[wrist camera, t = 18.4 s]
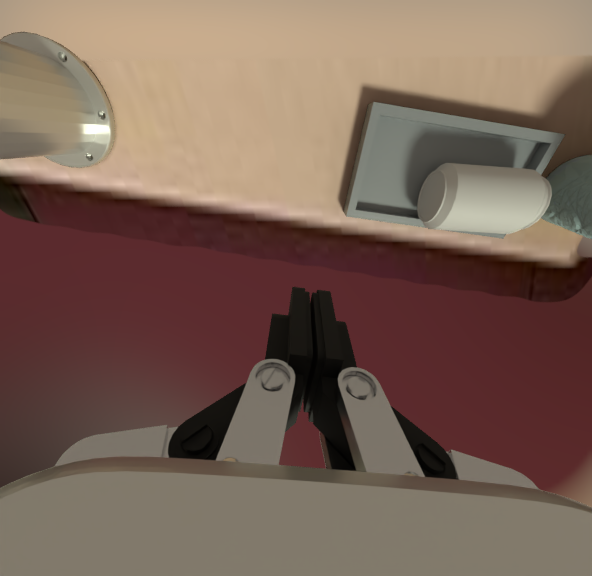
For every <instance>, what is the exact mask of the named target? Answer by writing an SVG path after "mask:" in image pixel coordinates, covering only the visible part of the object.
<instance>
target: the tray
mask: <svg viewBox="0 0 592 576" xmlns="http://www.w3.org/2000/svg"><path fill="white" fill-rule="evenodd" d="M564 136H565V134H559V133H554V132H548V131H542V130H536V129H530V128H524V127H518V126H512V125H507V124H501V123H495V122H489V121H483V120H477V119H471V118H465V117H460V116H454V115H448V114H442V113H436V112H430V111H424V110H419V109H413V108H407V107H401V106H395V105H389V104H383V103H377V102H372V103H370V104H368V108H367V112H366V116H365V121H364V125H363V129H362V134H361V138H360V142H359V147H358V151H357V155H356V159H355V164H354V168H353V172H352V177H351V181H350V185H349V190H348V194H347V198H346V203H345V207H344V211H343V212H344V213H345V215H346V216H347V217H354V218H361V219H368V220H376V221H383V222H390V223H397V224H404V225H411V226H418V227H425V226H424V224H423V222H422V221H421V220H420V218H419V216H418V211H417V203H418V197H419V194H420V190H421V188H422V185H423V183H424V181H425V180H426V178H427V177H428V175H429V174H430V173H432V172H433V171H435V170H436V169H437V168H438V167H439V166H440V165H442V164H445V163H456V164H470V165H483V166H497V167H510V168H524V169H532V170H535V171H537V172H538V173H539V174H541V175H542V173H543V171H544V170H545V168H546V166H547V165H548V163H549V161H550V160H551V158H552V156H553V155H554V153H555V151H556V149H557V148H558V146H559V144H560V143H561V141H562V139H563V138H564ZM425 228H427V227H425ZM446 231H453V230H446ZM453 232H461V233H468V234H475V235H482V236H489V237H496V238H504V237H505V235H506V234H497V233H482V232H467V231H453Z"/></svg>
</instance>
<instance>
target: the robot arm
mask: <svg viewBox="0 0 592 576" xmlns="http://www.w3.org/2000/svg"><path fill="white" fill-rule="evenodd" d="M105 115H106V116H105ZM114 139H115V122H114V116H113V112H112V109H111V106H110V103H109V100H108V98H107V96H106V94H105V92H104V90H103V88H102V86H101V85H100V83H99V82H98V80H97V78H96V77H95V75H94V74H93V73H92V72H91V71H90V69H89V68H88V67H87V66H86V65H85V63H83V62H82V61H81V60H80V59H79V58H78V57H77V56H76V55H75V54H73V53H72V52H71V51H70V50H68V49H67V48H65V47H64V46H62V45H61V44H59V43H57V42H55V41H53V40H51V39H49V38H46V37H43V36H40V35H38V34H34V33H27V32H18V33H12V34H9V35H7V36H4V37H3V38H2V39H1V40H0V159H11V158H25V157H39V156H44V157H46V158H47V159H49V160H51V161H53V162H56V163H58V164H60V165H64V166H68V167H77V168H82V167H90V166H93V165H96V164H98V163H100V162H101V161H103V160H104V159H105V158H106V157H107V156H108V155H109V153H110V151H111V149H112V147H113V143H114ZM302 401H303V403H304V412H309V422H313V424H314V425H315V426H316V427H317V428H318V429H319V431H320V441H321V445H322V451H323V455H324V460H325V465H326V469H322V468H309V467H296V466H283V465H278V464H279V459H280V454H281V449H282V444H283V439H284V434H285V432H286V431H287V430H288V429H289V428H290V427H291V426H293V425H294V424H295V423H296V420H297V415H298V411H299V412H300V409H301V405H302ZM0 576H592V507H589V506H587V505H585V504H583V503H580V502H577V501H574V500H572V499H569V498H566V497H563V496H560V495H557V494H553V493H550V492H546V491H541V490H539V489H538V487H537V486H536V485H535V484H534V483H533V482H532V481H531V480H529V479H528V478H527V477H525V476H524V475H522V474H521V473H519V472H517V471H515V470H513V469H510V468H506V467H504V466H500V465H497V464H494V463H491V462H488V461H485V460H482V459H479V458H475V457H473V456H469V455H466V454H463V453H460V452H457V451H454V450H450V451H449V452H446V451H445V450H444V449H443V448H442V447H441V446H440V445H439V444H438V443H437V442H436V441H434V440H433V439H432V438H431V437H429V436H428V435H427V434H426V433H424V432H423V431H422V430H420V429H419V428H418V427H416V426H415V425H414V424H413V423H412V422H410V421H409V420H408V419H407V418H405V417H404V416H403V415H402V414H400V413H399V412H398V411H396V410H395V409H394V408H393V407H391V406H390V404H389V402H388V400H387V398H386V396H385V394H384V392H383V390H382V388H381V386H380V384H379V382H378V381H377V379H376V378H375V377H374V376H373V375H372V374H371V373H369V372H367V371H366V370H363V369H360V368H357V366H356V362H355V358H354V354H353V350H352V346H351V342H350V338H349V334H348V330H347V326H346V323H345V322H339V321H336V318H335V313H334V308H333V303H332V298H331V293H330V291H322V290H317V293H312V297H311V302H310V297H309V292H305V288H297V287H293V288H292V294H291V301H290V307H289V314H288V315H280V314H272V319H271V325H270V332H269V338H268V344H267V351H266V357H265V360H263V361H261V362H259V363H258V364H256V365H255V366H254V368H253V370H252V371H251V373H250V376H249V378H248V381H247V383H245V384H243V385H242V386H240V387H239V388H237V389H235V390H234V391H232V392H231V393H229V394H228V395H226V396H224V397H223V398H221V399H220V400H218V401H216V402H215V403H213V404H212V405H210V406H209V407H207V408H205V409H204V410H202V411H201V412H199V413H197V414H196V415H194V416H193V417H191V418H190V419H188V420H186V421H185V422H184V423H183V424H181V425H180V426H179V427H174V428H168V426H167V425H164V426H156V427H149V428H143V429H135V430H128V431H121V432H114V433H106V434H99V435H94V436H90V437H87V438H84V439H82V440H81V441H79V442H77V443H75V444H74V445H73V446H71V447H70V448H69V449H68V450H67V451H66V452H64V453H63V455H62V456H61V458H60V459H59V460H58V462H57V463H56V465H55V467H52V468H49V469H47V470H43V471H40V472H37V473H34V474H32V475H29V476H27V477H24V478H22V479H19V480H17V481H15V482H12V483H10V484H8V485H6V486H4V487H2V488H0Z"/></svg>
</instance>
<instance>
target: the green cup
mask: <svg viewBox="0 0 592 576" xmlns="http://www.w3.org/2000/svg"><path fill="white" fill-rule="evenodd" d="M545 179H547V180H548V181H549V183H550V185H551V191H552V196H551V200H550V203H549V206H548V208H547V210H546V211H545V213H544V215H543V216H542V217H541V218H542V219H543V220H545V221H548V222H550V223H553V224H555V225H558V226H561V227H563V228H565V229H568V230H570V231H572V232H575V233H577V234H579V235H583V236H585V237H587V238H591V239H592V155H585V156H580V157H576V158H573V159H571V160H569V161H567V162H565V163H563V164H562V165H560V166H558V167H557V168H556V169H555V170H554V171H553V172H552V173H551V174H549V176H548V177H547V178H545Z"/></svg>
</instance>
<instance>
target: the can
mask: <svg viewBox="0 0 592 576" xmlns="http://www.w3.org/2000/svg"><path fill="white" fill-rule="evenodd" d="M551 196H552V191H551V185H550V183H549V181H548V180H547V179H545V178H544V177H543V176H541V174H539V173H538V172H537V171H535V170H532V169H524V168H510V167H497V166H483V165H470V164H456V163H445V164H442V165H440V166H439V167H438V168H437V169H436V170H435V171H433V172H432V173H430V174H429V175H428V177H427V178H426V180H425V181H424V183H423V185H422V188H421V190H420V194H419V197H418V203H417V211H418V216H419V218H420V220H421V221H422V222H423V224H424V226H425V227H427V228H428V229H438V230H453V231H467V232H482V233H497V234H511V233H514V232H516V231H519V230H522V229H525V228H527V227H530V226H531V225H533V224H534V223H536V222H537V221H538V220H539V219H540V218H541V217H542V216H543V215H544V213H545V211H546V210H547V208H548V206H549V203H550V200H551Z"/></svg>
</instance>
